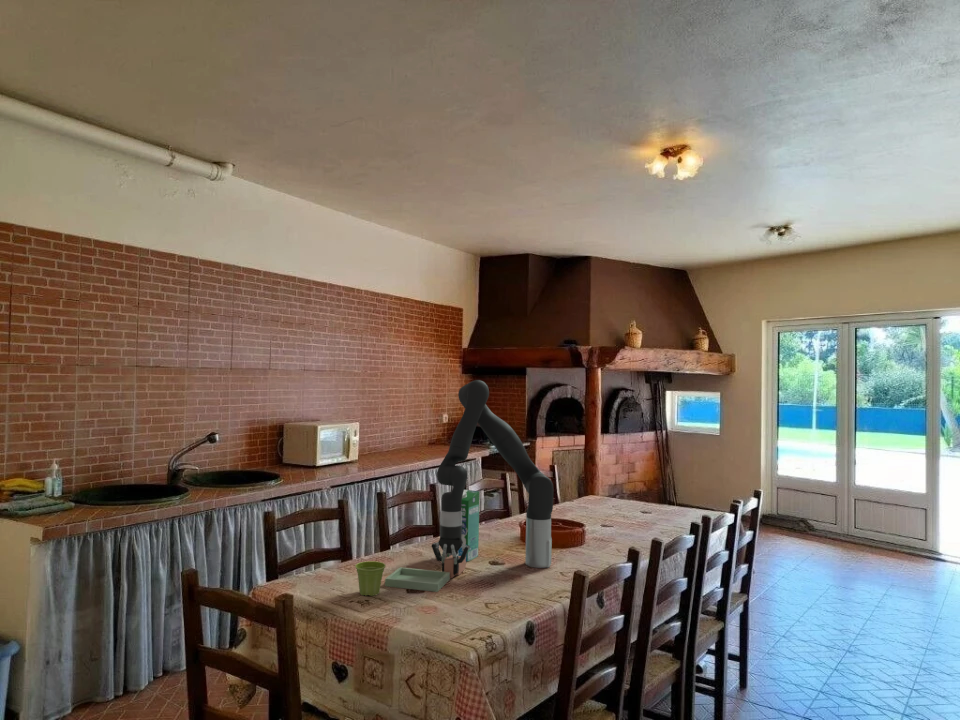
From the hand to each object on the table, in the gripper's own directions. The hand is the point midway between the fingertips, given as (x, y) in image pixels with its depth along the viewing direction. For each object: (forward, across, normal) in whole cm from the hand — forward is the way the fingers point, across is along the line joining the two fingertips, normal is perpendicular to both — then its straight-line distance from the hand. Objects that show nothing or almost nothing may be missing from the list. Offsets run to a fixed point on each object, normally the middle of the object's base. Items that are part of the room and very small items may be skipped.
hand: (450, 573), depth 212 cm
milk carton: (+1, +2, -23) cm, 23 cm away
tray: (+1, +8, +10) cm, 13 cm away
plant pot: (+1, +19, +24) cm, 31 cm away
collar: (+1, 0, -4) cm, 4 cm away
